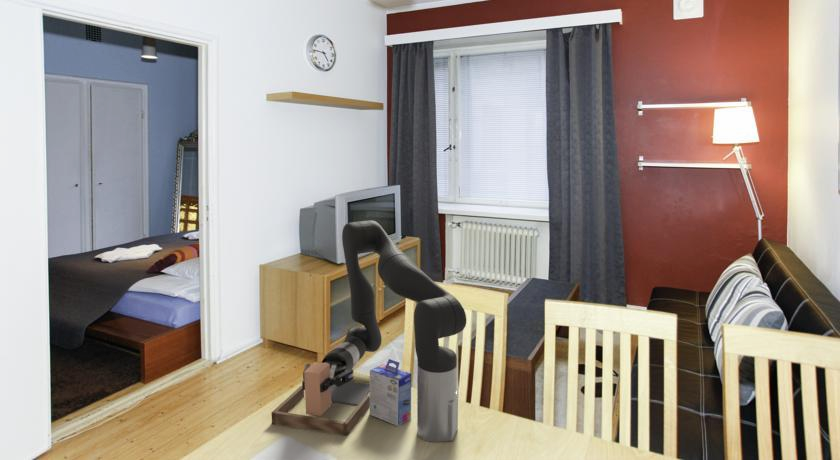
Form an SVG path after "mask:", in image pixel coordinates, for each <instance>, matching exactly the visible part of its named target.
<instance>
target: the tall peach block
mask: <svg viewBox="0 0 840 460" xmlns="http://www.w3.org/2000/svg"><path fill="white" fill-rule="evenodd" d="M310 365H311V366H310V367H309V368H308V369H307V370H306V371H304V370H303V371H304V379H305V390H304V400H305V414H306V415H310V416H311V415H312V416H313V415H314V416H319V417H321V416H322V415H323V414H324V413H325V412H326V411H327V410H328V408H330V406H331V405H332V402H331V387H330V388H329V389H328V390H326V391H324V392H320V384H321V383H322V382H323V381H324V380H325V379H326V378H328V376H329V375H330V364H328V363H321V362H318V361H315V362H313V364H310Z"/></svg>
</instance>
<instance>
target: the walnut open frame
mask: <svg viewBox="0 0 840 460" xmlns="http://www.w3.org/2000/svg"><path fill="white" fill-rule="evenodd" d="M302 399H305V390H303V388H302V385H300V386H299V387H298V388H296V389H295V391H293V392H292V393H291V394H290V395H289V396H288V397H287V398H286V399H285V400H283V401H282V403H280V404H279V405H278V406H276V408H275V409H273V410H272V411H271V413H270V414H271V424H272V425H277V426H282V427H283V426H284V427H289V428H290V427H291V428H295V429H296V428H297V429H303V430H308V431H315V432H320V433H327V434H332V435H340V436H345V437H347V436H348V435H349V434H350V433H351V431H352V430H353V429H354V428H355V426H356V425H357V424H358V422H359V421H360V420H361V418H362V417H363V416H364V415H365V414H366V412H367V411H368V409H370V395H368V394H367V395H366V396H365V397H364V398H363V399H362V401H361V402H360V403H359V404H358V406H357V405H356V407H355V408H354V409H353V411H352V412H351V413H350V414H349V415H348V417H347V418H346V419H345V420H344V421H342V420H338V419H337V420H336V419H330V418H325V417H324V418H323V417H317V416H313V415H312V416H311V415H304V414H298V413H293V412H291V413H290V411H291V410H292V409H293V408H295V406H296V405H298V404H299V402H301V400H302Z"/></svg>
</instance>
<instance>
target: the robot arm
mask: <svg viewBox="0 0 840 460" xmlns="http://www.w3.org/2000/svg"><path fill="white" fill-rule="evenodd" d="M341 240H342V249H343V255H344V260H345V266H346V267H345V268H346V273H347V277H348V283H349V284H348V285H349V289H350V291H349V292H350V311H351V312H350V315H351V319H352V320H353V321H354V322H356V323H357V324H358V323H359V324H361V325H363V326H357V325H356V326H352V327H350V328H349V329H348V330H347V332H346V336H345V338H344V340H343V341H342V342H341V343H340V344H338V345H336V346H335V347H334V348H332V350H331V351H329V352H328V353H327V354H326V355H325V356H324V357H323V359H322V360H321V362H320V363H328V364H330V375H329V376H328V378H326V379H325V380H324V381H323V382H322V383H321V384H320V392H324V391H326V390H328V389H329V388H330V387H333V385H336V386H337V387H339V386H342V385H343V384H345V383H347V382H349V381H351V382H352V380H353V381H354V376H355V375H354V369H355V366H356V365H357V363H358V362H359V361H360V360H361V359H362V358H363V357H365V356H364V355H365V354H366V352H368V353H375V352H377V351H379V349H380V347H381V346H382V340H383V339H382V333H381V330H380V326H379V323H378V319H377V317H376V305H375V304H376V302H375V291H374V288H373V286H372V284H371V283H370V282H369V279H368V278H367V277H366V276H365V274H364V272H363V271H362V269H361V266H360V263H359V255H361V254H368V253H376V254H378V256H379V258H378V262H377V272H378V276H379V278H380V279H381V281H382V282H383V284H385V285H386V287H388V289H390V290H391V291H392V292H393V293H394V294H396V295H398V296H400V297H402V298H404V299H405V298H406V299H408V300H409V301H414V302H416V305H415V309H414V313H413V326H414V327H413V328H414V329H413V330H414V347H415V349H414V350H415V355H416V359H417V372H416V373H417V382H416V383H417V387H416V388H417V393H416V394H417V395H416V396H417V398H416V399H417V401H416V404H417V406H416V407H417V408H416V409H417V410H416V411H417V413H416V414H417V419H416V421H417V422H416V427H417V435H418V436H419V437H420V438H421V439H422V440H425V441H428V442H432V443H440V442H442V443H443V442H446V441H447V442H449V441H450V442H453V441H454V439H455V436H456V433H457V431H458V424H459V392H458V391H457V367H458V366H457V363H458V361H457V360H458V358H457V353H456V352H455V351H454V350H453V349H451V348H449V347H446V346H442V345H441V346H440V345H439V339H443V338H448V337H452V336H455V335H457V334H460V333H461V332H462V331H464V329H465V328H466V325H467V314H466V311H465V309H464V307H463V305H462V304H461V302H460V300H458V299H457V298H456V297H455V296H453V294H451V293H450V292H449V291H448V290H446V289H444V288H443V287H442V286H440V285H439V284H438V283H436V282H435V281H434V280H433V279H432V278H431V277H429V275H427V274H426V273H425V272H424V271H423V270H422V269H421V268H420V267H419V266H418V265H417V263H416V262H414V261H413V260H412V259H411V258H410V257H409V256H408V255H407V254H406V253H405V252H403V251H402V250H401V249H400V247H398V245H397V244H396V242H394V241H393V240H392V238H391V237H390V236H389V234H388V233H387V232H386V231H385V229H384V227H382V225H380V224H379V223H378V222H377V221H375V220H370V219H369V220H362V221H361V220H360V221H352V222H351V221H350V222H348V223H346V224H345V225H344V226H343V228H342V234H341ZM311 365H312V364H310V363H306V364H305V365H304V366H305V367H304V369H303V371H302V379H303V380H301V381H302V382H301V386H302V388H303V390H304V391H305V379H304V371H306V370H307V369H308V368H309V367H310V366H311ZM341 380H342V381H341Z"/></svg>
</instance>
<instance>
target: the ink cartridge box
mask: <svg viewBox="0 0 840 460" xmlns="http://www.w3.org/2000/svg"><path fill="white" fill-rule="evenodd" d="M390 364H393V365H395V366H391V365H390ZM399 367H400V362H399V361H397V360H392V359H390V358H388V361H387V362H386V364H380V365H378V366H376V367H374V368H372V369H370V370H369V384H370V392H369V396H370V407H369V415H370V416H373V417H375V418H377V419H380V420H382V421H385V422H387V423H389V424H392V425H394V426H397V427H398V426H400V425H402V424H404V423H406V422H407V421H409V420H410V421H411V419H412V373H411V372H408V371H405V370H402V369H399Z"/></svg>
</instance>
